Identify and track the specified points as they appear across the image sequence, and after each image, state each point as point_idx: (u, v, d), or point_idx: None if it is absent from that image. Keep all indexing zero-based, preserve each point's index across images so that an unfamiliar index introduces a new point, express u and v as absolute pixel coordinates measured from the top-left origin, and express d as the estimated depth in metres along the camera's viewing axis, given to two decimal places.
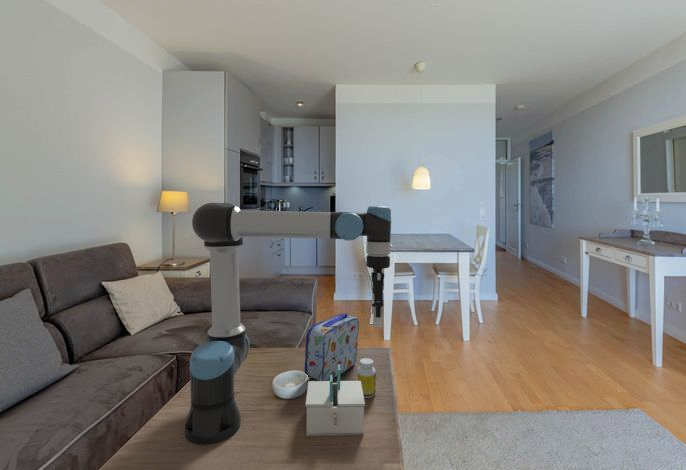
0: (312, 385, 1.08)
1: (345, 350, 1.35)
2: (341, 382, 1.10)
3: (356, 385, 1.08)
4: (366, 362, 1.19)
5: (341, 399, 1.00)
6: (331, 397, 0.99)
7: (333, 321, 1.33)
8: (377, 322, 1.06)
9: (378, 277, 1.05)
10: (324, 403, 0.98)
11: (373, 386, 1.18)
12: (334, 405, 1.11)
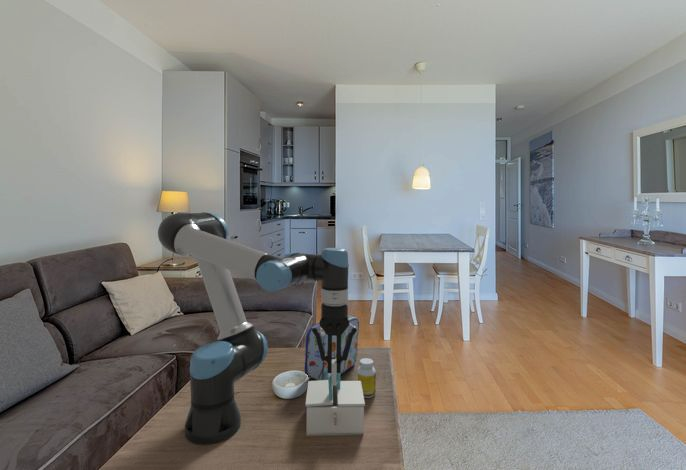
0: (312, 385, 1.08)
1: None
2: (341, 382, 1.10)
3: (356, 385, 1.08)
4: (366, 362, 1.19)
5: (341, 399, 1.00)
6: (331, 395, 0.99)
7: None
8: (331, 378, 1.01)
9: None
10: (324, 402, 0.98)
11: (373, 386, 1.18)
12: (334, 405, 1.11)
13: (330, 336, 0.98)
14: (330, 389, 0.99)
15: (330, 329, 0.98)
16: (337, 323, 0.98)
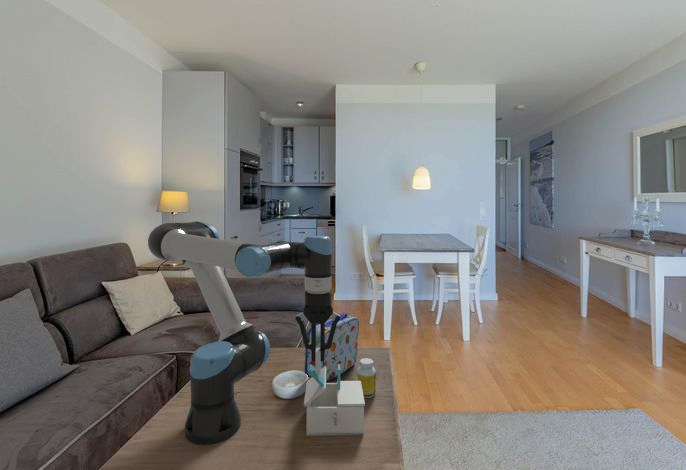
0: (309, 383, 1.08)
1: (345, 350, 1.35)
2: (341, 382, 1.10)
3: (356, 385, 1.08)
4: (366, 362, 1.19)
5: (341, 399, 1.00)
6: (320, 382, 0.98)
7: None
8: None
9: None
10: (318, 391, 0.98)
11: (373, 386, 1.18)
12: (334, 405, 1.11)
13: (314, 324, 0.98)
14: (315, 377, 0.98)
15: (313, 317, 0.97)
16: (321, 311, 0.98)
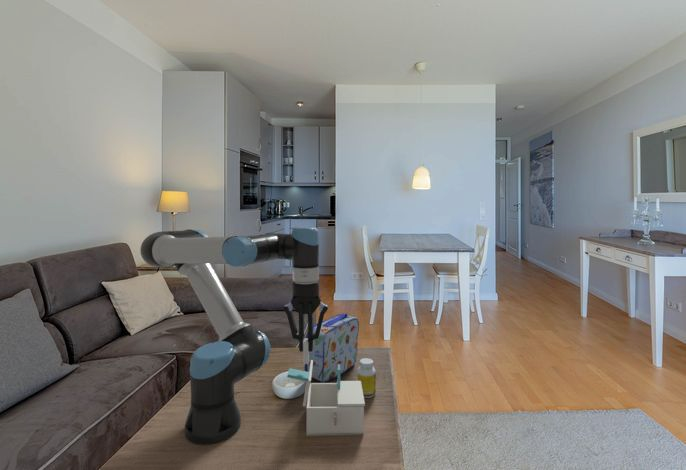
0: (306, 382, 1.08)
1: (345, 350, 1.35)
2: (341, 382, 1.10)
3: (356, 385, 1.08)
4: (366, 362, 1.19)
5: (341, 399, 1.00)
6: (303, 378, 0.98)
7: (333, 321, 1.33)
8: None
9: None
10: (306, 387, 0.98)
11: (373, 386, 1.18)
12: (334, 405, 1.11)
13: (301, 314, 0.99)
14: (297, 377, 0.98)
15: (301, 307, 0.98)
16: (308, 301, 0.99)
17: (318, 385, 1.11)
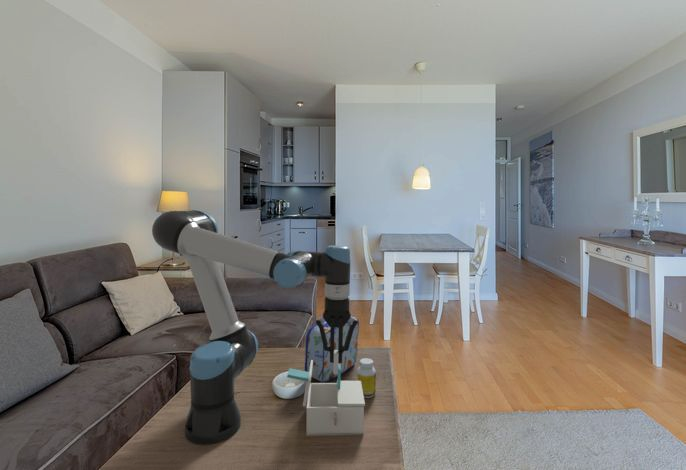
0: (306, 382, 1.08)
1: None
2: (341, 382, 1.10)
3: (356, 385, 1.08)
4: (366, 362, 1.19)
5: (341, 399, 1.00)
6: (303, 378, 0.98)
7: None
8: (333, 367, 1.08)
9: None
10: (306, 387, 0.98)
11: (373, 386, 1.18)
12: (334, 405, 1.11)
13: (333, 328, 1.05)
14: (297, 377, 0.98)
15: (333, 321, 1.04)
16: (339, 316, 1.05)
17: (318, 385, 1.11)
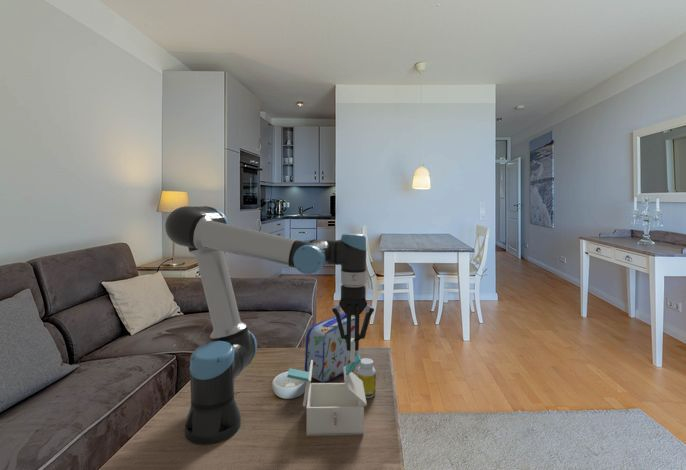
0: (306, 382, 1.08)
1: (345, 350, 1.35)
2: None
3: (359, 382, 1.08)
4: (366, 362, 1.19)
5: (348, 384, 1.00)
6: (303, 378, 0.98)
7: (333, 321, 1.33)
8: (350, 355, 1.08)
9: None
10: (306, 387, 0.98)
11: (373, 386, 1.18)
12: (334, 405, 1.11)
13: (349, 315, 1.05)
14: (297, 377, 0.98)
15: (349, 309, 1.04)
16: (356, 303, 1.05)
17: (318, 385, 1.11)
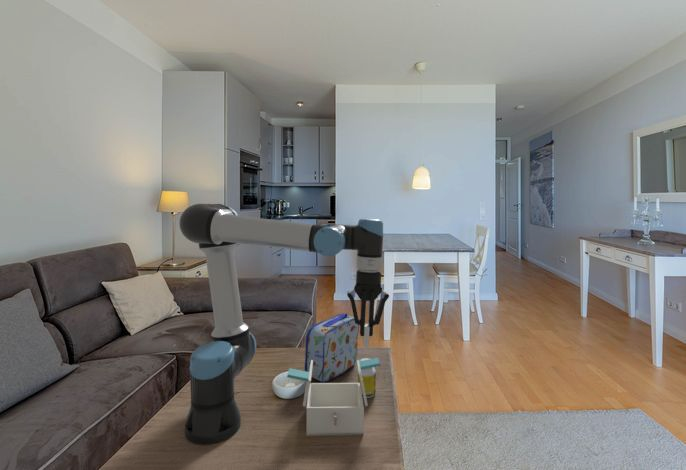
0: (306, 382, 1.08)
1: (345, 350, 1.35)
2: None
3: None
4: None
5: None
6: (303, 378, 0.98)
7: (333, 321, 1.33)
8: (363, 341, 1.07)
9: None
10: (306, 387, 0.98)
11: (373, 386, 1.18)
12: (334, 405, 1.11)
13: (364, 301, 1.05)
14: (297, 377, 0.98)
15: (364, 294, 1.04)
16: (371, 289, 1.05)
17: (318, 385, 1.11)
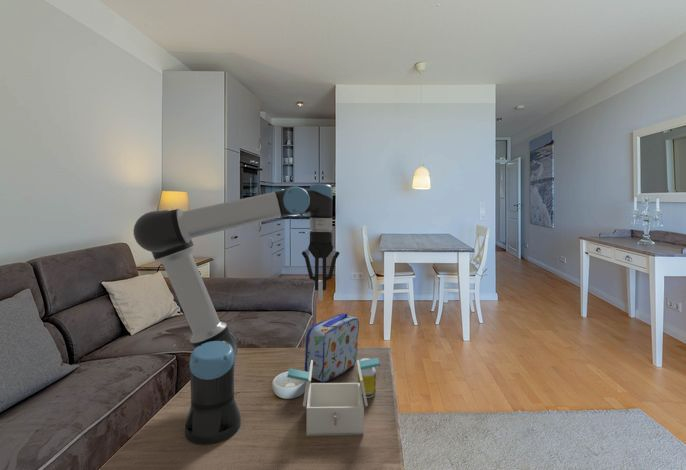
0: (306, 382, 1.08)
1: (345, 350, 1.35)
2: None
3: None
4: None
5: None
6: (303, 378, 0.98)
7: (333, 321, 1.33)
8: None
9: None
10: (306, 387, 0.98)
11: (373, 386, 1.18)
12: (334, 405, 1.11)
13: (317, 258, 1.17)
14: (297, 377, 0.98)
15: (317, 252, 1.16)
16: (323, 247, 1.17)
17: (318, 385, 1.11)
